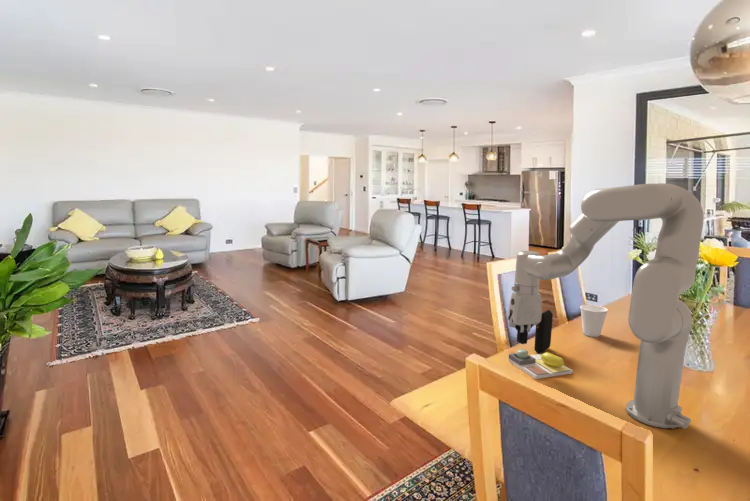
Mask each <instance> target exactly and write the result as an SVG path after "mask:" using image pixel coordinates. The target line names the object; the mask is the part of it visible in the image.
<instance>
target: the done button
mask: <svg viewBox="0 0 750 501" xmlns="http://www.w3.org/2000/svg"><path fill="white" fill-rule="evenodd" d="M516 353H517V354H516V357H517V358H520V359H527V358H528V355H529V351H528V350H527V349H522V348H518V349H516Z"/></svg>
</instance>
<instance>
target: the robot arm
mask: <svg viewBox="0 0 750 501" xmlns="http://www.w3.org/2000/svg"><path fill="white" fill-rule="evenodd" d="M580 204H581V205H580V209H581V210H580V211H581V213H580V215H578V217H577V218H575V219H574V220H573V222H572V223H571V224H570V225H569V228H568V230H569V233H570V235H571V237H570V239H569V241H568V242H567V243H566V244H565V245H564V246H563V247H562V248H561V249H560V250H559V251H558V252H556V253H551V254H547V255H546V254H545V255H542V254H541V253H540V252H538V251H534V250H520V251H519V252H517V253H516V259H515V260H516V262H515V274H514V284H513V286H511V290H512V292H511V296H510V300H509V305H508V310H507V319H508V324H507V325H508V326H509V327H510V328H513V329H515V330H516V331H517V332H516V341H517V343H519V344H521V345H527V344H528V336H529V332H531V329H532V328H533V327H536V325H537V324H538V323H539V322H540V321H541V316H542V313H543V310H542V309H543V308H542V307H543V306H542V296H541V293H540V292H539V289H540V281H549V280H551V281H552V280H555V279H557V278H558V279H559V278H562V277H567V276H568V275H570V274H571V273H573V272H574V271H575V270H576V269H578V268H579V266H581V265H582V264H583V262H584V261H586V259H587V258H588V257H589V256H590V254H591V253H592V251H593V249H594V247H595V245H596V244H597V243H598V242H599V241H601V239H602V238H603V237H604V236H605V235H606V234H607V233H608V232H609V231H611V229H612V228H614V227H615V226H616V225H617V224H618V223H619V222H623V221H625V222H626V221H645V220H646V221H647V220H654V219H661V221H662V223H661V227H660V231H659V232H658V236H657V242H656V249H655V254H654V257H653V259H650V260H648V261H645V262H644V263H643V264H641V266H640V267H639V268H638V269H637V271H636V273H635V276H634V278H633V284H632V290H631V297H630V302H629V303H630V304H629V309H628V319H627V320H628V325H629V326H628V327H629V329H630V331H631V332H632V334H633V335H634V336H635V337H636V338H637V339H639V340H640V344H639V352H638V356H637V357H638V359H637V367H636V375H635V382H634V383H635V384H634V391H633V392H634V393H633V399H632V400H628V401H627V402H626V404H625V411H626V412H627V414H629V416H631V417H632V418H633V419H635V420H637V421H638V422H640V423H643V424H645V425H648V426H651V427H656V428H659V427H660V429H667V428H672V429H677V428H676V427H678V428H682V429H684V430H686V429H688V428H689V426H690V424H691V421H692V420H691V418H690V417H688V416H686V415H684V414H683V413H682V410H683V407H682V406H680V405H679V399H680V393H681V392H680V391H681V382H682V376H683V369H684V368H683V367H684V363H685V362H684V361H685V355H686V354H685V353H686V348H687V344H688V340H689V336H690V332H691V330H692V323H693V317H692V312H691V310H690V308H689V307H688V305H687V304H686V303H685V302H684V301H682V300H680V299H679V296H680V294H683V293H685V292H687V291H688V290H690V289H691V287H692V286H693V285H694V283H695V278H696V272H697V265H698V259H699V254H700V247H701V246H700V245H701V241H702V240H701V239H702V235H703V227H704V220H705V219H704V211H703V207H702V205H701V202H700V201H699V199H698V198H697V197H696V196H695V195H694V194H693V193H692V192H690V191H689V190H687V189H686V188H684V187H681V186H679V185H676V184H672V183H661V182H660V183H639V184H633V185H623V186H615V187H606V188H605V187H604V188H596V189H594V190H591V191H589V192H587V193H586V194H585V196H584V197H583V199H582V201H581V203H580ZM679 426H680V427H679Z"/></svg>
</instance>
